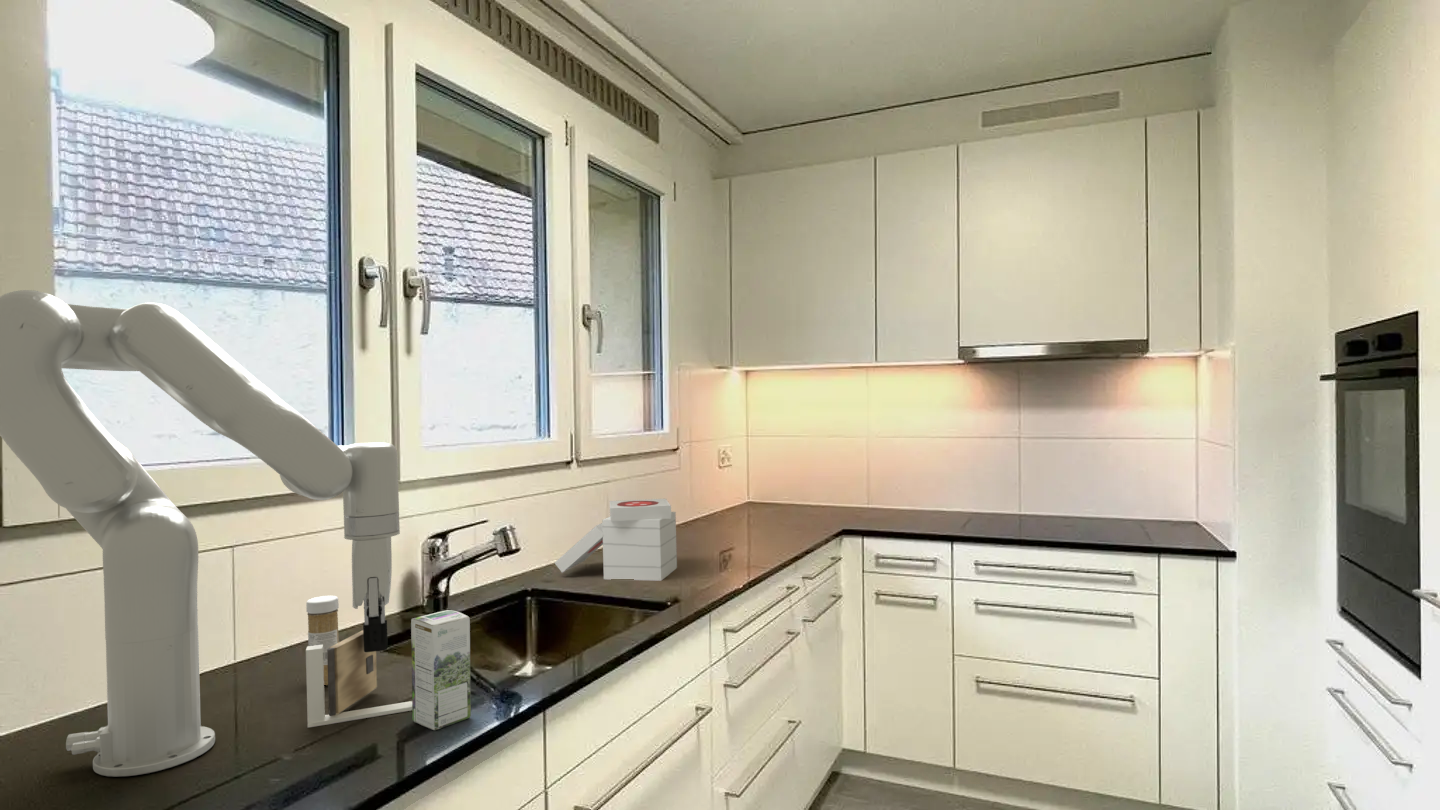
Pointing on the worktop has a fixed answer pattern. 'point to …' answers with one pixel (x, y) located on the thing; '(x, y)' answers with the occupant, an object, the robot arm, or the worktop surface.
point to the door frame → (318, 702)
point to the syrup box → (440, 669)
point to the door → (349, 673)
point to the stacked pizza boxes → (631, 541)
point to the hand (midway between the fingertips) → (375, 649)
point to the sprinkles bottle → (323, 625)
